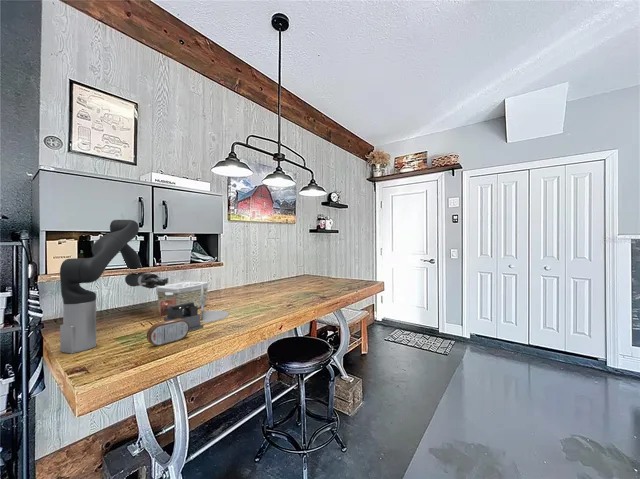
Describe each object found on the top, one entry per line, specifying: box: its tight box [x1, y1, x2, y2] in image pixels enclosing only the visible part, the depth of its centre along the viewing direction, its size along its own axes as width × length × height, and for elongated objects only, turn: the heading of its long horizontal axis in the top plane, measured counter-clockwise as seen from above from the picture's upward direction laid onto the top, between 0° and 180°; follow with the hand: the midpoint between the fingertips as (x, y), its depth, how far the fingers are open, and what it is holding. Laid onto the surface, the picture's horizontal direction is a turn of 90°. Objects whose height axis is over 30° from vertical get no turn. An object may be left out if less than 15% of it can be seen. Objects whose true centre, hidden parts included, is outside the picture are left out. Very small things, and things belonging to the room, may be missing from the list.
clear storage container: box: [156, 280, 209, 313], centre depth 160 cm, size 24×16×15 cm
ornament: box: [200, 285, 230, 324], centre depth 145 cm, size 22×13×17 cm, turn 22°
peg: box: [159, 298, 187, 317], centre depth 127 cm, size 15×7×7 cm, turn 52°
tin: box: [146, 318, 190, 347], centre depth 108 cm, size 15×3×8 cm, turn 141°
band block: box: [163, 302, 204, 332], centre depth 123 cm, size 10×14×11 cm
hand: (163, 283), depth 135 cm, fingers closed
